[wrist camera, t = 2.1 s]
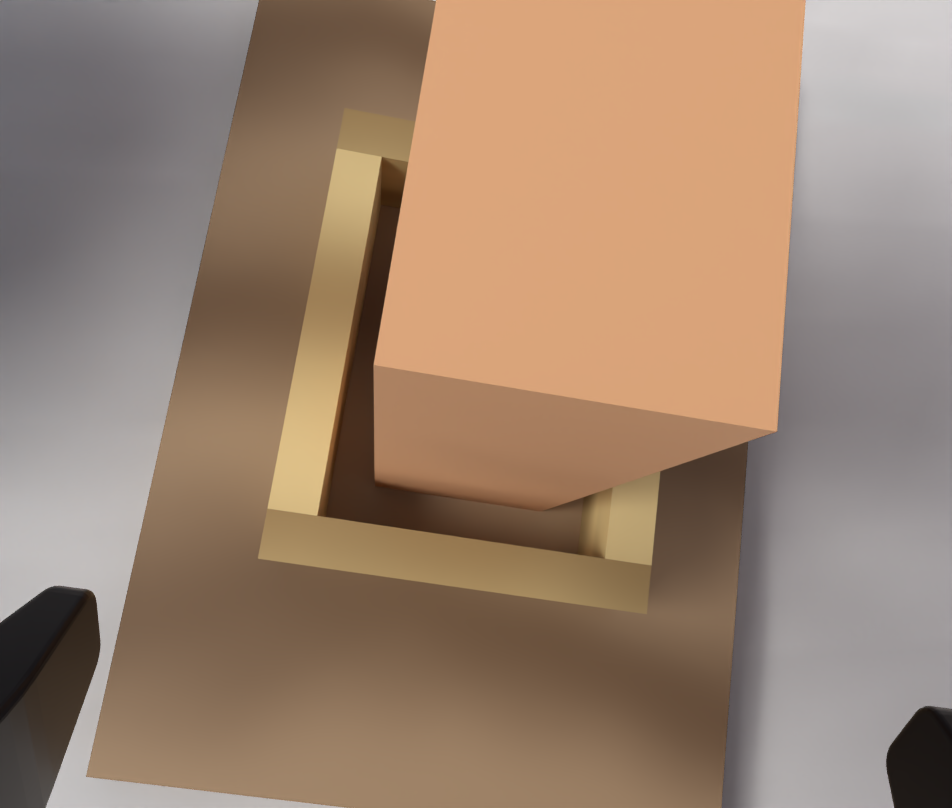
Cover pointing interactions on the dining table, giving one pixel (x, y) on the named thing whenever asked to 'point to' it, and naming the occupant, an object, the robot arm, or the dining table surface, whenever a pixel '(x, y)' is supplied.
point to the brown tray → (389, 517)
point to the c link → (588, 245)
